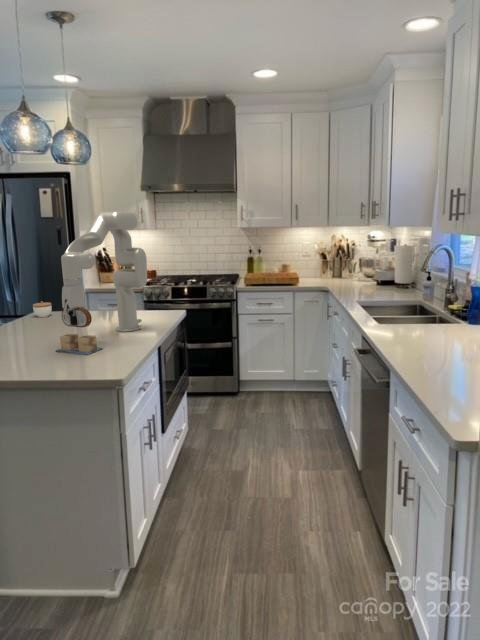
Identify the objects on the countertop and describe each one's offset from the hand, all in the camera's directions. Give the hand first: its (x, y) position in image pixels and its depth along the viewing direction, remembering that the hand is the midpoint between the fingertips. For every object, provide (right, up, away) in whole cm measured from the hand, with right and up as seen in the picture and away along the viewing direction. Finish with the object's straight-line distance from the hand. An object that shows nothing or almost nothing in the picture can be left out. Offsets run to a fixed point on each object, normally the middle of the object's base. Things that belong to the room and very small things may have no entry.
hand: (76, 323), depth 219 cm
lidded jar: (-48, +4, +84) cm, 96 cm away
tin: (0, -2, 0) cm, 2 cm away
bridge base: (0, -12, +3) cm, 12 cm away
